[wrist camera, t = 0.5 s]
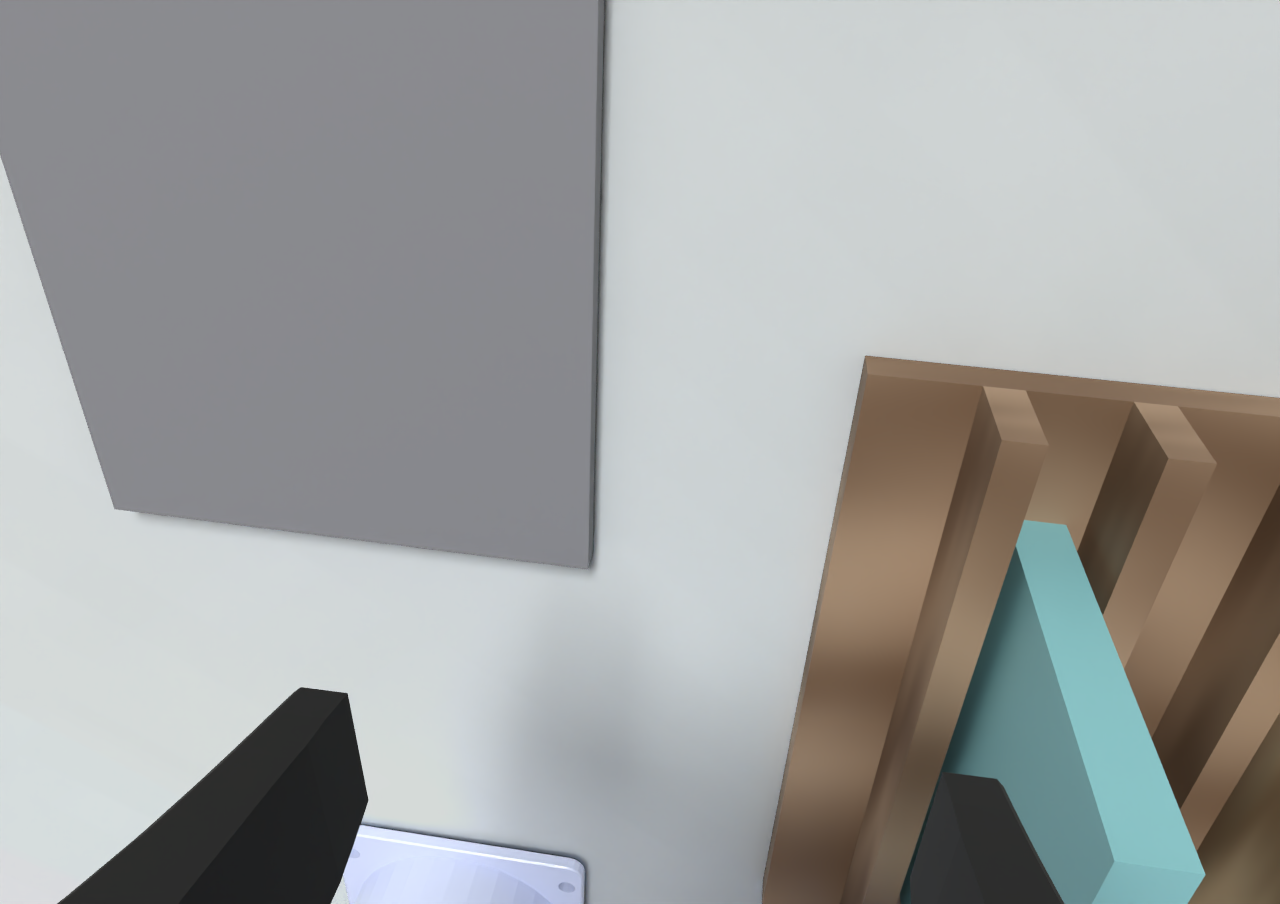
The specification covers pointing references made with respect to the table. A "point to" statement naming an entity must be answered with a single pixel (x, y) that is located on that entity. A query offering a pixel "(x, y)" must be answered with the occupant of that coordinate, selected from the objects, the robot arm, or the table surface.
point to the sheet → (1069, 738)
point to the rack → (974, 574)
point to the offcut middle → (1246, 836)
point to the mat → (323, 257)
